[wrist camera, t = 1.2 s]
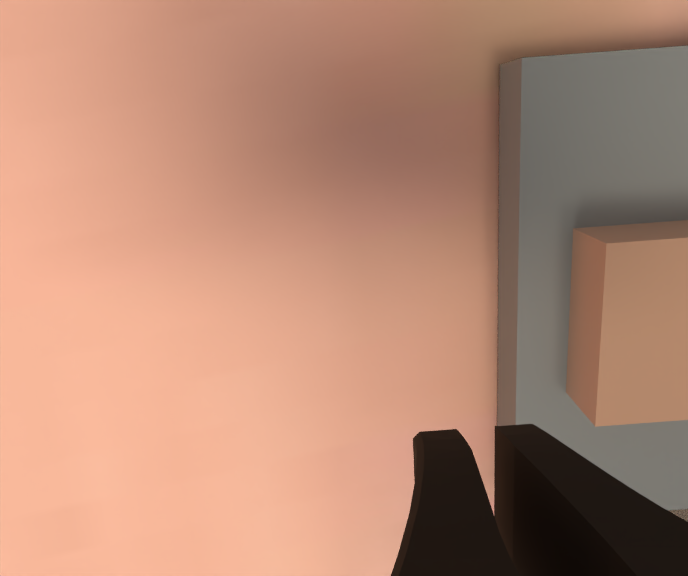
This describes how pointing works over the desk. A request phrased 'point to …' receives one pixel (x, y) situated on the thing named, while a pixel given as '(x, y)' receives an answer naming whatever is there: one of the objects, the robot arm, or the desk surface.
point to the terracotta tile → (629, 323)
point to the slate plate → (579, 212)
